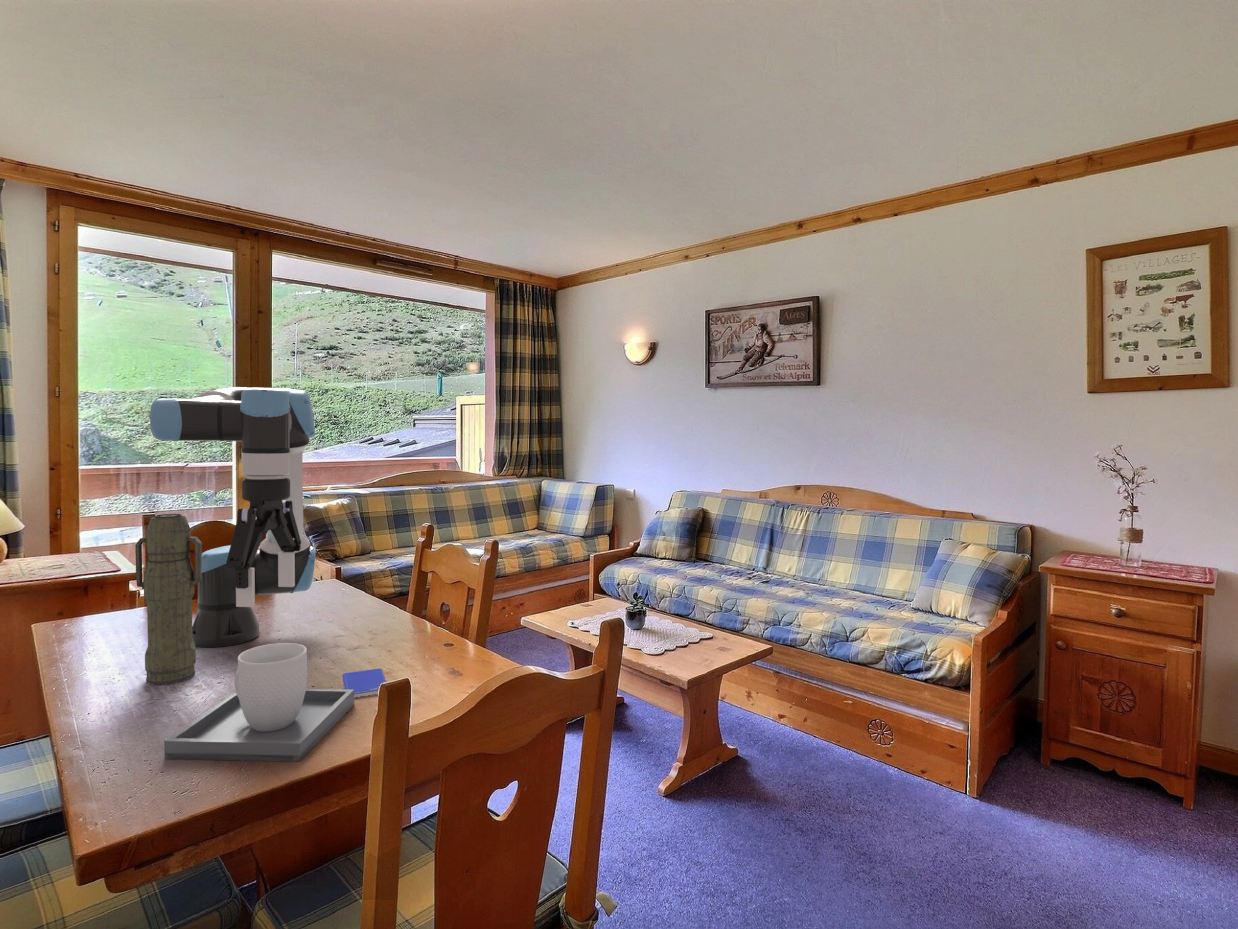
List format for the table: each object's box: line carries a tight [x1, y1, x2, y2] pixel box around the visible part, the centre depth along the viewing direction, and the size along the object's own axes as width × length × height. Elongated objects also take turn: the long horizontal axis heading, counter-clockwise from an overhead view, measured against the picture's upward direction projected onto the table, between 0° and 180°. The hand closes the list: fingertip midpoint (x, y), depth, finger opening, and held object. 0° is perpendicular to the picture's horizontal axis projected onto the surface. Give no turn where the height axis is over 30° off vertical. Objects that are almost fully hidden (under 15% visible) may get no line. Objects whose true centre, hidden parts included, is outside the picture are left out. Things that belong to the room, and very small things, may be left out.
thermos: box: [134, 513, 203, 686], centre depth 139 cm, size 9×12×35 cm
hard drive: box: [341, 668, 387, 699], centre depth 138 cm, size 2×8×12 cm
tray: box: [163, 688, 355, 762], centre depth 117 cm, size 22×22×3 cm
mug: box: [234, 642, 308, 732], centre depth 117 cm, size 15×11×13 cm
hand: (267, 596), depth 116 cm, fingers open, 13 cm apart
